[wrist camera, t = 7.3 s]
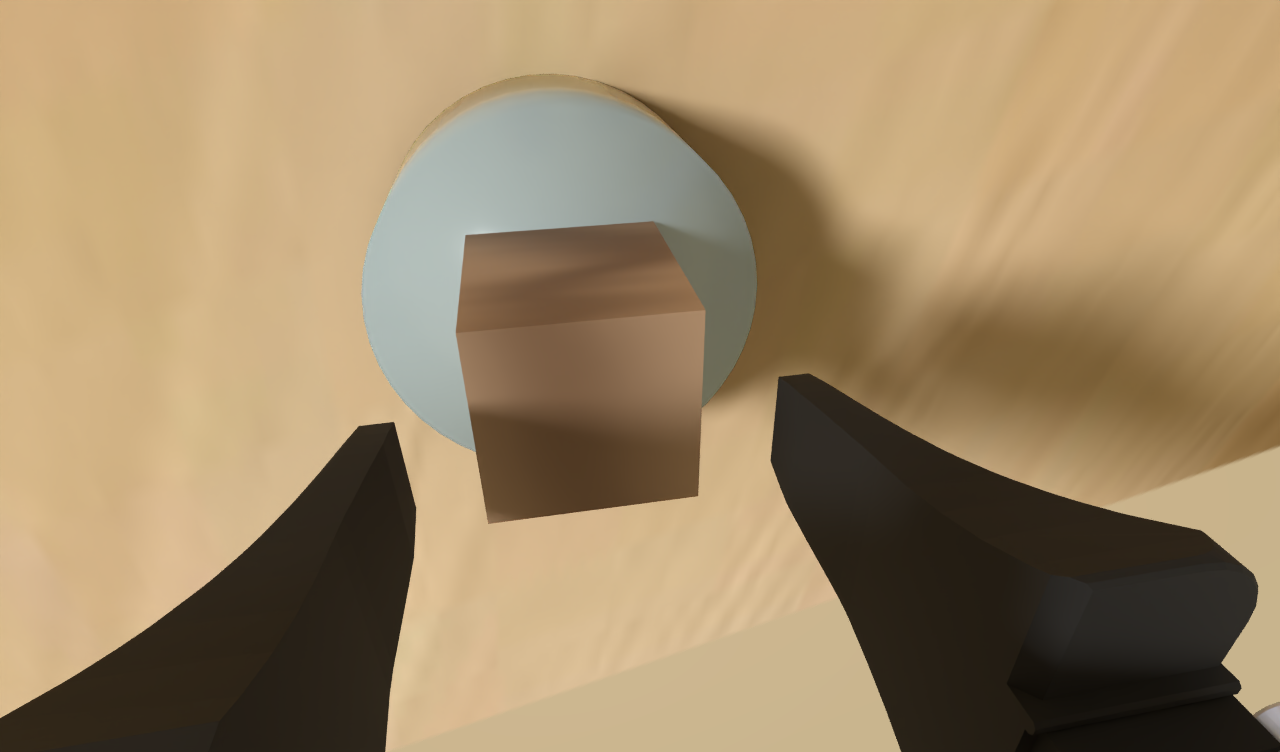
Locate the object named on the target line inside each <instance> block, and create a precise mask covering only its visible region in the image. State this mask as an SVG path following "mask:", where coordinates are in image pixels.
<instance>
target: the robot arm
mask: <svg viewBox="0 0 1280 752" xmlns="http://www.w3.org/2000/svg"><path fill="white" fill-rule="evenodd" d="M771 463H772V466H773V469H774V471H775V474H776V477H777V480H778V482H779V485H780V488H781V490H782V493H783V495H784V498H785V500H786V503H787V505H788V507H789V509H790V511H791V512H792V514H793V516H794V518H795V520H796V522H797V523H798V525H799V527H800V529H801V531H802V533H803V534H804V536H805V538H806V540H807V542H808V543H809V545H810V547H811V549H812V551H813V552H814V554H815V556H816V558H817V560H818V561H819V563H820V565H821V567H822V569H823V570H824V572H825V574H826V576H827V578H828V579H829V581H830V583H831V585H832V587H833V588H834V590H835V592H836V594H837V596H838V598H839V599H840V601H841V604H842V605H843V607H844V610H845V611H846V614H847V616H848V618H849V620H850V622H851V625H852V627H853V630H854V632H855V634H856V637H857V639H858V641H859V644H860V646H861V649H862V651H863V653H864V656H865V658H866V660H867V663H868V665H869V668H870V670H871V673H872V675H873V678H874V680H875V683H876V686H877V688H878V691H879V693H880V696H881V698H882V701H883V703H884V706H885V708H886V711H887V714H888V717H889V719H890V722H891V725H892V727H893V730H894V733H895V736H896V739H897V741H898V744H899V746H900V750H901V752H1280V702H1277V703H1275V704H1272V705H1269V706H1266V707H1265V708H1263V709H1261V710H1260V711H1258V712H1256V713H1255V714H1254V715H1252V714H1251V713H1250V712H1249V711H1248V710H1247V709H1246V708H1245V707H1244V706H1243V705H1242V704H1241V703H1240V702H1239V701H1238V700H1237V699H1236V698H1235V697H1234V696H1233V695H1234V694H1238V692H1239V691H1240V690H1241V685H1240V681H1239V680H1238V679H1237V678H1236V677H1235V676H1234V675H1233V674H1232V673H1231V672H1230V671H1228V670H1227V669H1226V668H1225V667H1224V666H1223V665H1222V664H1221V662H1222V661H1223V659H1224V658H1225V656H1226V655H1227V653H1228V652H1229V650H1230V649H1231V647H1232V646H1233V644H1234V642H1235V641H1236V639H1237V638H1238V636H1239V635H1240V633H1241V632H1242V630H1243V629H1244V627H1245V626H1246V624H1247V623H1248V621H1249V619H1250V617H1251V615H1252V613H1253V611H1254V609H1255V607H1256V602H1257V595H1258V584H1257V582H1256V579H1255V576H1254V574H1253V573H1252V572H1251V571H1249V570H1248V569H1247V568H1246V567H1245V566H1243V565H1242V564H1241V563H1240V562H1239V561H1237V560H1236V559H1235V558H1234V557H1232V556H1231V555H1230V554H1229V553H1228V552H1227V551H1225V550H1224V549H1223V548H1222V547H1221V546H1220V545H1218V544H1217V543H1216V542H1214V541H1213V540H1212V539H1211V538H1210V537H1209V536H1208V535H1206V534H1205V533H1204V532H1202V531H1200V530H1196V529H1191V528H1187V527H1182V526H1177V525H1172V524H1167V523H1163V522H1158V521H1153V520H1149V519H1144V518H1139V517H1135V516H1130V515H1126V514H1121V513H1118V512H1114V511H1111V510H1107V509H1103V508H1100V507H1096V506H1092V505H1089V504H1085V503H1081V502H1078V501H1075V500H1071V499H1068V498H1065V497H1062V496H1058V495H1055V494H1052V493H1049V492H1046V491H1043V490H1040V489H1037V488H1035V487H1032V486H1029V485H1026V484H1023V483H1020V482H1017V481H1015V480H1012V479H1009V478H1007V477H1004V476H1001V475H999V474H996V473H994V472H991V471H989V470H987V469H984V468H982V467H980V466H977V465H975V464H973V463H971V462H968V461H966V460H964V459H961V458H959V457H957V456H955V455H953V454H950V453H948V452H946V451H944V450H942V449H940V448H938V447H936V446H934V445H932V444H930V443H929V442H927V441H925V440H923V439H921V438H919V437H917V436H915V435H913V434H911V433H910V432H908V431H906V430H904V429H902V428H901V427H899V426H897V425H895V424H893V423H892V422H890V421H888V420H887V419H885V418H883V417H881V416H880V415H878V414H876V413H875V412H873V411H871V410H870V409H868V408H866V407H865V406H863V405H861V404H860V403H858V402H857V401H855V400H853V399H852V398H850V397H848V396H847V395H845V394H844V393H842V392H840V391H839V390H837V389H835V388H834V387H832V386H830V385H829V384H827V383H825V382H824V381H822V380H820V379H818V378H817V377H815V376H813V375H811V374H800V375H792V376H783V377H779V379H778V390H777V400H776V411H775V421H774V431H773V442H772V452H771ZM415 523H416V506H415V502H414V498H413V494H412V490H411V487H410V483H409V479H408V475H407V471H406V467H405V463H404V459H403V455H402V451H401V447H400V443H399V439H398V436H397V432H396V428H395V424H394V422H390V423H382V424H373V425H365V426H359V427H358V428H357V429H356V430H355V431H354V432H353V434H352V435H351V436H350V437H349V438H348V439H347V440H346V442H345V443H344V444H343V445H342V446H341V448H340V449H339V450H338V451H337V452H336V454H335V455H334V456H333V457H332V458H331V460H330V461H329V462H328V463H327V464H326V466H325V467H324V468H323V469H322V470H321V472H320V473H319V474H318V475H317V476H316V477H315V479H314V480H313V481H312V482H311V483H310V484H309V485H308V487H307V488H306V489H305V490H304V491H303V492H302V493H301V494H300V496H299V497H298V498H297V499H296V500H295V501H294V502H293V503H292V504H291V506H290V507H289V508H288V509H287V510H286V511H285V512H284V513H283V514H282V515H281V516H280V517H279V518H278V519H277V520H276V521H275V522H274V523H273V524H272V525H271V526H270V527H269V528H268V529H267V530H266V531H265V532H264V533H263V534H262V535H261V536H260V537H259V538H258V539H257V540H256V541H255V542H254V543H253V544H252V545H251V546H250V547H249V548H248V549H247V550H245V551H244V552H243V553H242V554H241V555H240V556H239V557H238V558H237V559H235V560H234V561H233V562H232V563H231V564H230V565H228V566H227V567H226V568H225V569H224V570H223V571H221V572H220V573H219V574H218V575H217V576H216V577H214V578H213V579H212V580H211V581H210V582H208V583H207V584H206V585H205V586H203V587H202V588H201V589H200V590H198V591H197V592H196V593H194V594H193V595H192V596H190V597H189V598H188V599H186V600H185V601H184V602H182V603H181V604H180V605H178V606H177V607H176V608H174V609H173V610H172V611H170V612H169V613H168V614H166V615H165V616H164V617H162V618H161V619H160V620H158V621H157V622H156V623H154V624H153V625H152V626H150V627H149V628H147V629H146V630H144V631H143V632H142V633H140V634H139V635H137V636H136V637H134V638H133V639H131V640H130V641H128V642H127V643H125V644H124V645H122V646H121V647H119V648H118V649H116V650H115V651H113V652H112V653H110V654H108V655H107V656H105V657H104V658H102V659H101V660H99V661H97V662H96V663H94V664H93V665H91V666H90V667H88V668H86V669H85V670H83V671H82V672H80V673H78V674H77V675H75V676H73V677H72V678H70V679H68V680H67V681H65V682H63V683H62V684H60V685H58V686H56V687H55V688H53V689H51V690H49V691H48V692H46V693H44V694H42V695H41V696H39V697H37V698H35V699H33V700H32V701H30V702H28V703H26V704H25V705H23V706H21V707H19V708H18V709H16V710H14V711H12V712H11V713H9V714H7V715H5V716H3V717H2V718H0V752H385V747H386V734H387V722H388V709H389V696H390V688H391V681H392V674H393V667H394V662H395V656H396V651H397V646H398V640H399V635H400V630H401V625H402V619H403V614H404V609H405V603H406V598H407V593H408V587H409V582H410V576H411V571H412V565H413V559H414V545H415Z"/></svg>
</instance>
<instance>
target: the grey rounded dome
mask: <svg viewBox="0 0 1280 752" xmlns="http://www.w3.org/2000/svg"><path fill="white" fill-rule="evenodd" d="M649 221H654V223H655V225H656V226H657V228H658V230H659V231H660V233H661V235H662V237H663V238H664V240H665V242H666V243H667V245H668V247H669V248H670V250H671V252H672V254H673V255H674V257H675V259H676V260H677V262H678V264H679V265H680V267H681V269H682V271H683V272H684V274H685V276H686V277H687V279H688V281H689V283H690V284H691V286H692V288H693V289H694V291H695V293H696V294H697V296H698V298H699V300H700V301H701V303H702V305H703V306H704V308H705V310H706V313H705V337H704V362H703V387H702V407H703V406H704V405H706V404H707V402H708V401H709V400H710V399H711V398H712V397H713V395H714V394H715V393H716V392H717V391H718V390H719V388H720V387H721V386H722V384H723V383H724V381H725V380H726V378H727V377H728V375H729V374H730V372H731V371H732V369H733V368H734V366H735V364H736V362H737V360H738V358H739V356H740V354H741V352H742V350H743V348H744V345H745V342H746V339H747V337H748V334H749V331H750V328H751V324H752V319H753V315H754V310H755V303H756V291H757V274H756V260H755V255H754V250H753V245H752V240H751V237H750V234H749V231H748V228H747V225H746V222H745V220H744V217H743V215H742V213H741V211H740V209H739V207H738V205H737V203H736V201H735V199H734V198H733V196H732V194H731V193H730V191H729V190H728V189H727V187H726V186H725V184H724V183H723V182H722V180H721V179H720V178H719V176H718V175H717V174H716V173H715V172H714V171H713V170H712V169H711V168H710V167H709V165H708V164H707V163H706V162H705V161H704V160H703V159H702V158H701V157H700V156H699V155H698V154H697V153H696V152H695V151H694V150H693V149H692V148H691V147H690V146H689V145H688V144H687V143H686V142H685V141H684V140H683V139H682V138H681V137H680V136H679V135H678V134H677V133H676V132H675V131H674V130H673V129H672V128H671V127H670V126H668V125H667V124H666V123H665V122H664V121H663V120H662V119H661V118H660V117H659V116H658V115H657V114H656V113H655V112H653V111H652V110H651V109H649V108H648V107H647V106H646V105H644V104H643V103H642V102H640V101H639V100H637V99H635V98H633V97H632V96H630V95H628V94H626V93H625V92H623V91H621V90H619V89H616V88H614V87H611V86H609V85H606V84H604V83H601V82H598V81H594V80H590V79H586V78H582V77H577V76H569V75H559V74H540V75H526V76H521V77H515V78H510V79H505V80H502V81H499V82H496V83H493V84H490V85H487V86H484V87H482V88H480V89H478V90H476V91H474V92H472V93H470V94H468V95H466V96H464V97H462V98H461V99H460V100H458V101H457V102H455V103H454V104H452V105H451V106H450V107H448V108H447V109H445V110H444V111H443V112H442V113H441V114H440V115H438V116H437V117H436V118H435V119H434V120H433V121H432V122H431V123H430V124H429V125H428V126H427V127H426V128H425V129H424V131H423V132H422V133H421V135H420V136H419V137H418V138H417V140H416V141H415V142H414V143H413V145H412V147H411V148H410V150H409V152H408V154H407V155H406V157H405V159H404V161H403V162H402V164H401V167H400V169H399V171H398V174H397V176H396V178H395V181H394V183H393V185H392V188H391V190H390V192H389V195H388V197H387V199H386V202H385V204H384V206H383V209H382V211H381V213H380V216H379V218H378V221H377V223H376V226H375V228H374V231H373V233H372V236H371V239H370V241H369V244H368V249H367V253H366V258H365V262H364V267H363V278H362V305H363V316H364V322H365V326H366V330H367V334H368V338H369V342H370V345H371V347H372V350H373V352H374V354H375V357H376V359H377V362H378V364H379V366H380V368H381V369H382V371H383V373H384V375H385V376H386V378H387V380H388V381H389V383H390V385H391V386H392V387H393V389H394V390H395V391H396V393H397V394H398V395H399V396H400V398H401V399H402V400H403V401H404V403H405V404H406V405H407V406H408V407H409V408H410V409H411V410H412V411H413V412H414V413H415V414H416V415H417V416H418V417H419V418H420V419H422V420H423V421H424V422H425V423H427V424H428V425H429V426H431V427H432V428H433V429H435V430H436V431H437V432H439V433H440V434H442V435H443V436H445V437H447V438H449V439H450V440H452V441H454V442H455V443H457V444H459V445H461V446H463V447H465V448H468V449H470V450H472V451H475V452H476V449H475V443H474V438H473V432H472V426H471V420H470V414H469V408H468V403H467V397H466V391H465V385H464V379H463V374H462V368H461V362H460V356H459V350H458V344H457V339H456V324H457V314H458V304H459V294H460V284H461V274H462V264H463V254H464V244H465V235H472V234H486V233H499V232H513V231H527V230H540V229H554V228H568V227H581V226H595V225H608V224H622V223H636V222H649Z"/></svg>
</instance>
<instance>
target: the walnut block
mask: <svg viewBox="0 0 1280 752" xmlns="http://www.w3.org/2000/svg"><path fill="white" fill-rule="evenodd" d="M705 313H706V310H705V308H704V306H703V305H702V303H701V301H700V300H699V298H698V296H697V294H696V293H695V291H694V289H693V288H692V286H691V284H690V283H689V281H688V279H687V277H686V276H685V274H684V272H683V271H682V269H681V267H680V265H679V264H678V262H677V260H676V259H675V257H674V255H673V254H672V252H671V250H670V248H669V247H668V245H667V243H666V242H665V240H664V238H663V237H662V235H661V233H660V231H659V230H658V228H657V226H656V225H655V223H654V221H649V222H636V223H622V224H608V225H595V226H581V227H568V228H554V229H540V230H527V231H513V232H499V233H486V234H472V235H465V244H464V254H463V264H462V274H461V284H460V294H459V304H458V314H457V324H456V339H457V344H458V350H459V356H460V362H461V368H462V374H463V379H464V385H465V391H466V397H467V403H468V408H469V414H470V420H471V426H472V432H473V438H474V443H475V449H476V455H477V461H478V467H479V472H480V478H481V484H482V490H483V496H484V502H485V507H486V513H487V519H488V524H490V523H497V522H505V521H513V520H520V519H528V518H535V517H543V516H551V515H558V514H566V513H573V512H581V511H589V510H596V509H604V508H612V507H619V506H627V505H634V504H642V503H650V502H657V501H665V500H672V499H680V498H688V497H695V496H698V485H699V461H700V436H701V411H702V387H703V362H704V337H705Z"/></svg>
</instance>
